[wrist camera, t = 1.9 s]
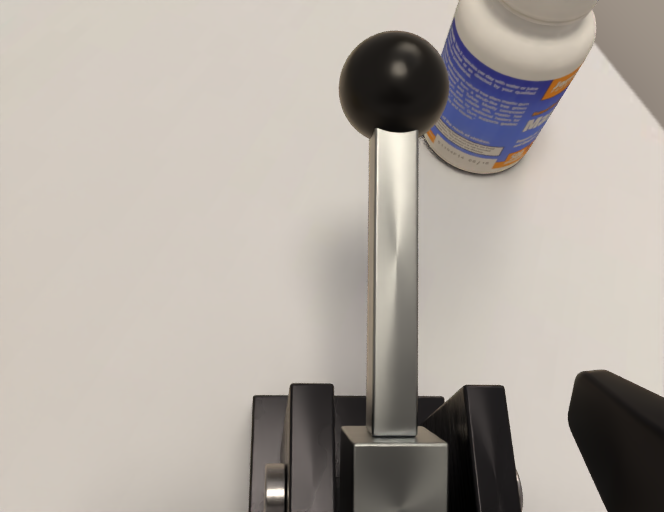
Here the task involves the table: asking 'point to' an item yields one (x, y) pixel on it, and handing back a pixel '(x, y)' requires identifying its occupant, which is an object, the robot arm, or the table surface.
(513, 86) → the pill bottle
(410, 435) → the lever
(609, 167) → the table surface
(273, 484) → the bracket
